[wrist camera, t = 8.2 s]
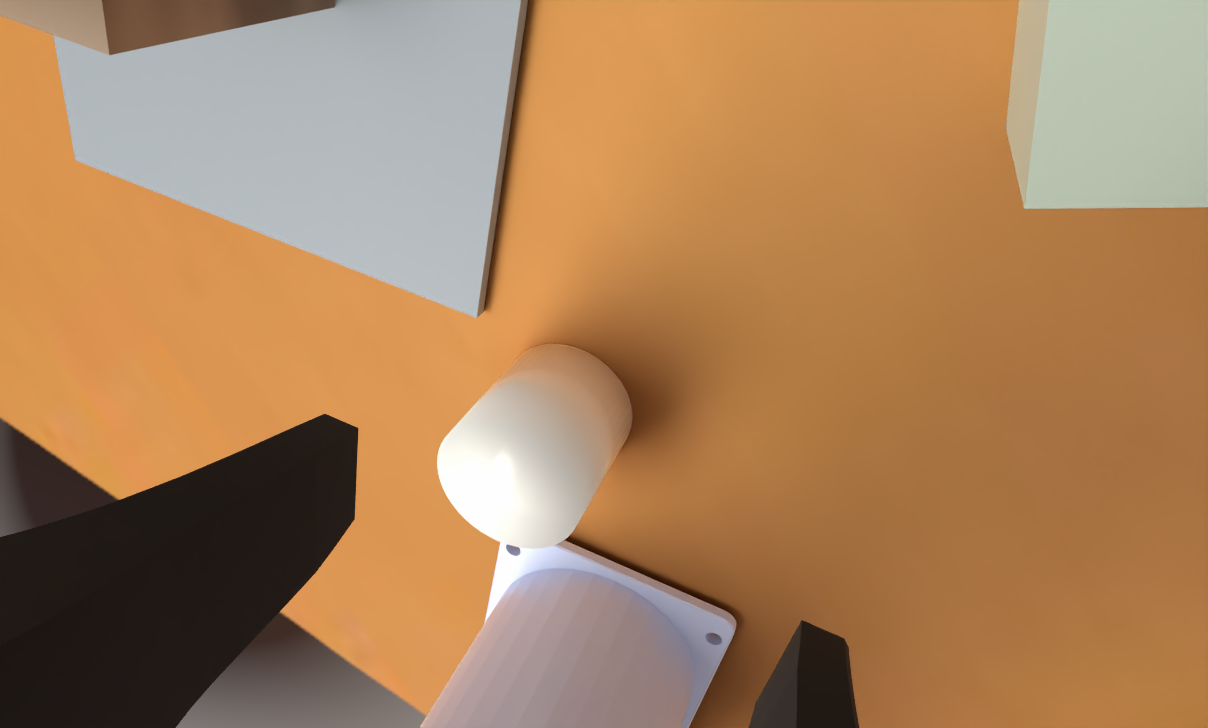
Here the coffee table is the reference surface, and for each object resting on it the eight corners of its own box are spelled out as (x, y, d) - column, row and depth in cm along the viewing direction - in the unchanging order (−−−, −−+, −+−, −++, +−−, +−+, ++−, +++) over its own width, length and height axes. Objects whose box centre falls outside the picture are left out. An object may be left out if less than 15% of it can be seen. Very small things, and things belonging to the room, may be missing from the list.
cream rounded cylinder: (616, 479, 24) (565, 571, 21) (497, 429, 25) (431, 510, 22) (647, 374, 22) (595, 459, 19) (516, 323, 23) (444, 396, 20)
